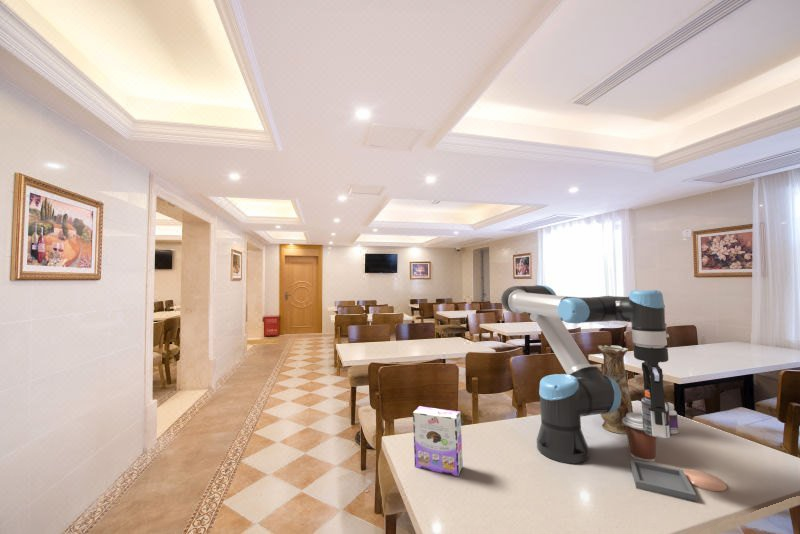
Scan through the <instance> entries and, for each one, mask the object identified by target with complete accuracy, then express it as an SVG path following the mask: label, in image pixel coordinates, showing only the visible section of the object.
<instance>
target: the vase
mask: <svg viewBox="0 0 800 534" xmlns="http://www.w3.org/2000/svg"><path fill="white" fill-rule="evenodd" d="M597 347H598V349H599V350H600V352H601V354H602V356H603V365H602V366H603V367H602V373H601V374H602V375H606V376H609V377H611V378H613V379H614V380H615V381H616V383H617V384H618V386H619V388H620V391H621V404H620V406H619V408H618V409H617V410H615V411H613V412H609V413H607V414H599V415H600V418H601V419H602V420H603V421H604V422H603V423H602V424H601V426H602V427H603V428H604V430H607V431H609V432H612V433H616V434H623V435H624V434H626V435H627V432H626V426H625V424H624V423H623V421H622V419H623V418H624V417H626V414H627V413H630V412H634V411H633V404H632V398H631V397H632V396H631V394H630V389H629V383H628V379H627V374H626V369H625V362H624V361H625V360H624V357H625V355H626V354H627V352H628V351H629V348H626V347H622V346H620V345H610V346H608V345H604V346H603V345H601V344H600V345H597Z"/></svg>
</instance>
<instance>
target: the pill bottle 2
mask: <svg viewBox="0 0 800 534" xmlns="http://www.w3.org/2000/svg"><path fill="white" fill-rule="evenodd" d="M666 402H667V401H666ZM667 403H668V405H669V417H670V430H671V435H676V434H679V432H680V431H679V422H678V421H679V420H678V413H677V411H676V410H675V405H674V403H671V402H669V401H668V402H667Z"/></svg>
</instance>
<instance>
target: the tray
mask: <svg viewBox="0 0 800 534" xmlns="http://www.w3.org/2000/svg"><path fill="white" fill-rule="evenodd" d="M629 466H630V470H631V474H632V477H633V482H634V485H635V489H639V490H642V491H646V492H651V493H655V494H659V495H662V496H667V497H672V498H674V499H675V498H676V499H679V500H684V501H688V502H693V503H696V504H697V503H698V498H697V494H696V492H695V490H694V488H693V485H692V484H690V483H689V481H688V479H687V477H686V475H685V473H684V471H683V469H681V468H680V469H679V468H675V467H670V466H664V465H660V464H655V463H652V462H651V463H650V462H647V461H642V460H635V459H629Z"/></svg>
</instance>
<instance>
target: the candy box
mask: <svg viewBox="0 0 800 534" xmlns="http://www.w3.org/2000/svg"><path fill="white" fill-rule="evenodd" d="M461 417H462V416H461V411H456V410H450V409H443V408H436V407H429V406H421V405H419V406H418V407H417V408H416V409H415V410H414V411H413V412H412V419H413V420H412V425H413V449H414V451H413V452H414V467H415V468H418V469H422V470H427V471H433V472H436V473H441V474H445V475H450V476H455V477H460V474H461V472H462V470H463V468H464V464H463V444H462V442H463V440H462V439H463V438H462V421H461V420H462V418H461Z"/></svg>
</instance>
